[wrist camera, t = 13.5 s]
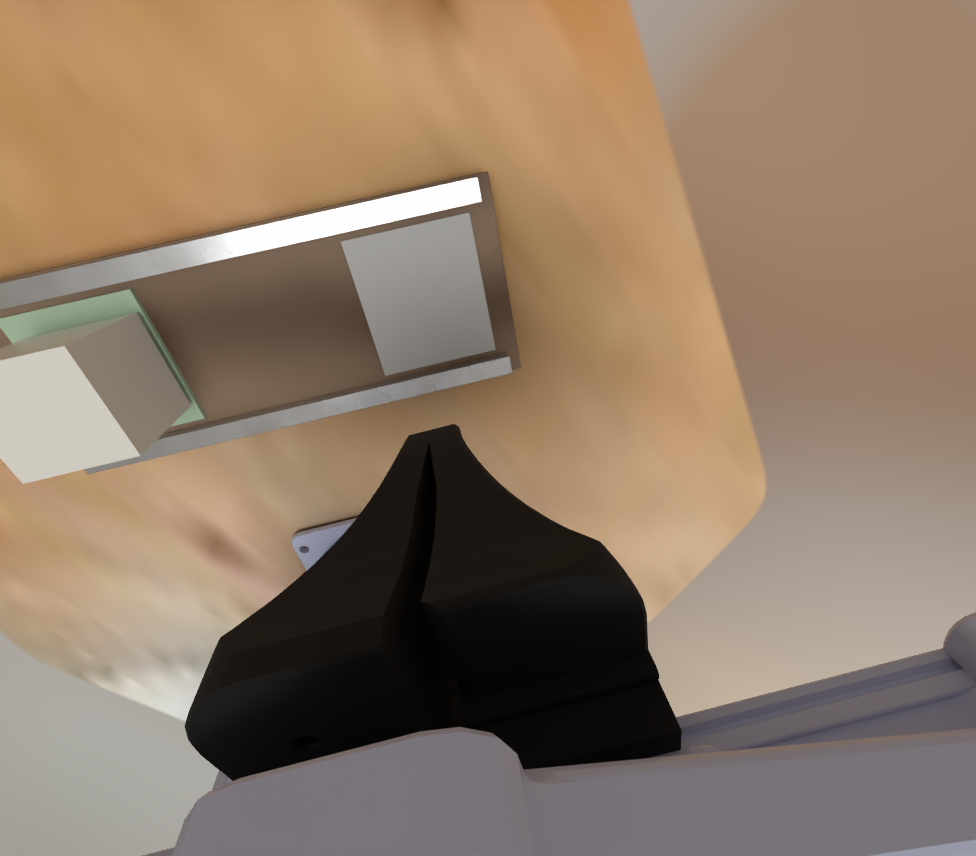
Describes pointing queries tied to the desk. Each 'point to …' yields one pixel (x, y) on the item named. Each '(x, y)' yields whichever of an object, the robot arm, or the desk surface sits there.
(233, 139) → the desk surface
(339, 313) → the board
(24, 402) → the off-white matte cube
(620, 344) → the desk surface
